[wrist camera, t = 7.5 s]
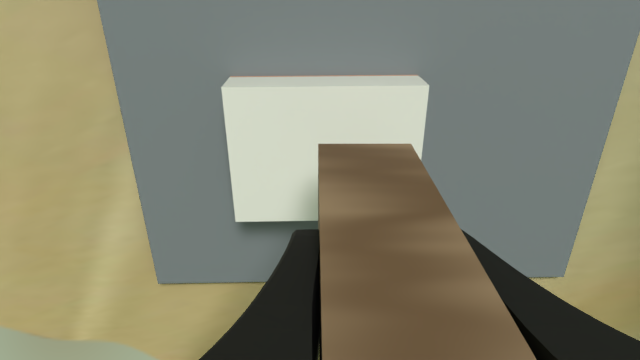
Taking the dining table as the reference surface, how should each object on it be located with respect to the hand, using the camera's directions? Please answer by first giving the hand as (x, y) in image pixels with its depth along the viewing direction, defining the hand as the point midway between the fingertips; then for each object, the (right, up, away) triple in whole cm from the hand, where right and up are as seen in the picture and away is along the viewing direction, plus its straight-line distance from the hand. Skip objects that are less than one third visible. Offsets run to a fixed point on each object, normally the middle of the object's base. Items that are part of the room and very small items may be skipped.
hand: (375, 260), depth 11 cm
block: (0, +2, +3) cm, 4 cm away
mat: (+1, +4, +8) cm, 9 cm away
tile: (+3, +4, +7) cm, 9 cm away
